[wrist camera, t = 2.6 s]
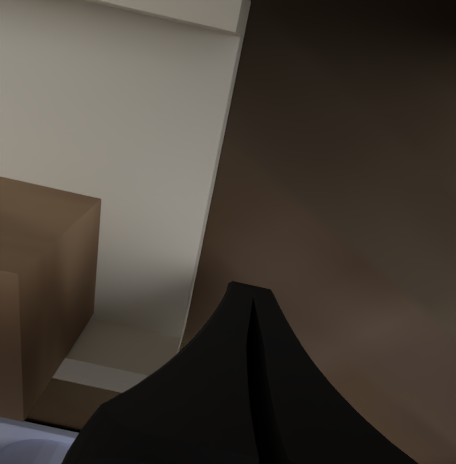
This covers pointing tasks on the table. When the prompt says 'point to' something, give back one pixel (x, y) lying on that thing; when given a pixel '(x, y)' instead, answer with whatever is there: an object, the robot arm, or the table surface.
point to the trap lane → (124, 152)
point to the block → (42, 285)
